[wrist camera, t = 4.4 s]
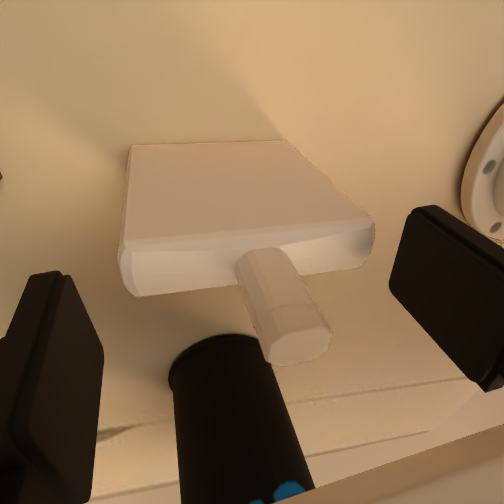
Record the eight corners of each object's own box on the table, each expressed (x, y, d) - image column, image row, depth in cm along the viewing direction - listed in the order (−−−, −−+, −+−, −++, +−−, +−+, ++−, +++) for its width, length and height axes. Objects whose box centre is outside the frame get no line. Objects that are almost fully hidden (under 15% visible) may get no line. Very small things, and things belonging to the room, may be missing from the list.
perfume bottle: (132, 184, 17) (118, 413, 7) (126, 143, 15) (98, 352, 6) (285, 175, 18) (434, 347, 9) (289, 138, 17) (464, 291, 8)
